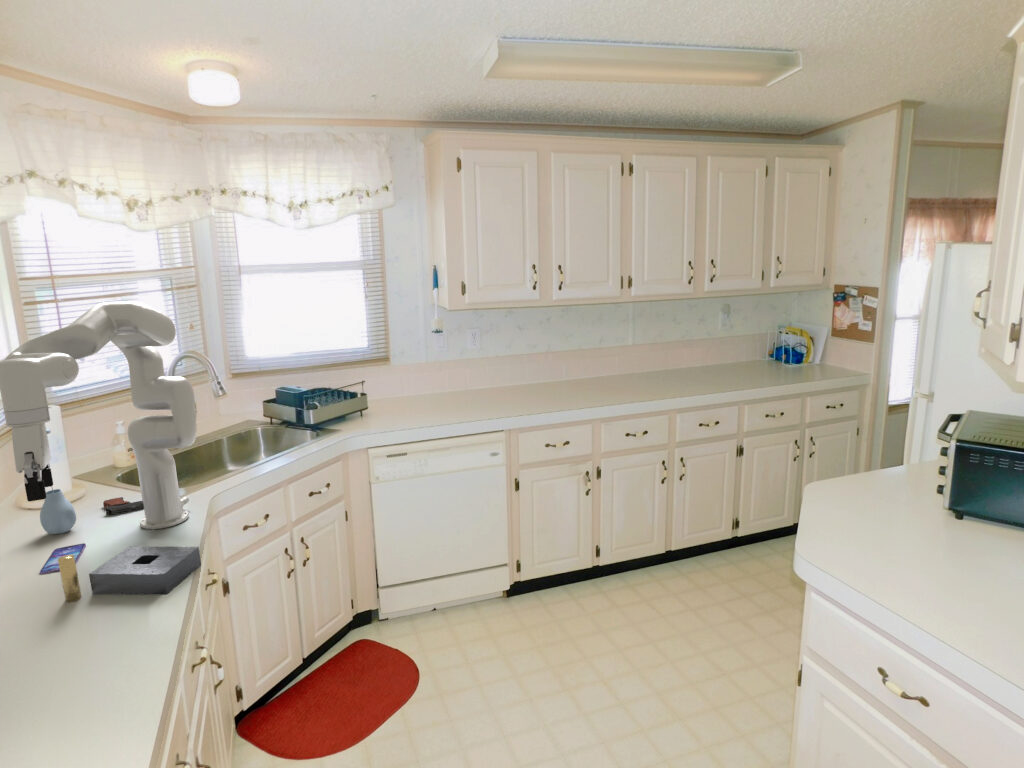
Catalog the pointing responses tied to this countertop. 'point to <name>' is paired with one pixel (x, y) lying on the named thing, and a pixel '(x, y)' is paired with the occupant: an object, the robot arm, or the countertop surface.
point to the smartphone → (52, 561)
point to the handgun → (121, 506)
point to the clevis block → (145, 570)
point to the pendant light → (57, 511)
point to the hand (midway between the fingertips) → (41, 493)
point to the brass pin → (69, 578)
